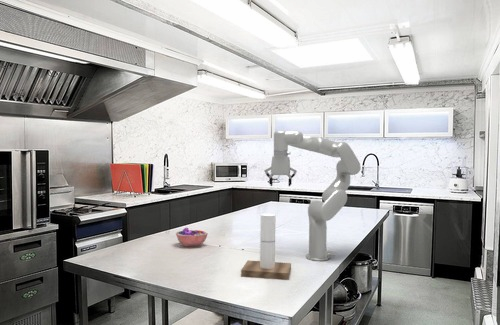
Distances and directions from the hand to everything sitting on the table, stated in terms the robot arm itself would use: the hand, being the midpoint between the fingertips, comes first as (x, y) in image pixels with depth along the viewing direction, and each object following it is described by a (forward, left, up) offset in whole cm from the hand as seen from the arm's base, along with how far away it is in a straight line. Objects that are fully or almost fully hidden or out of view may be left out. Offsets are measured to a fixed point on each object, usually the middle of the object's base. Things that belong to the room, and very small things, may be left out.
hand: (280, 185), depth 190 cm
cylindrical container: (+4, +21, -38) cm, 43 cm away
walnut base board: (+4, +21, -40) cm, 46 cm away
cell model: (+57, -20, -41) cm, 73 cm away
